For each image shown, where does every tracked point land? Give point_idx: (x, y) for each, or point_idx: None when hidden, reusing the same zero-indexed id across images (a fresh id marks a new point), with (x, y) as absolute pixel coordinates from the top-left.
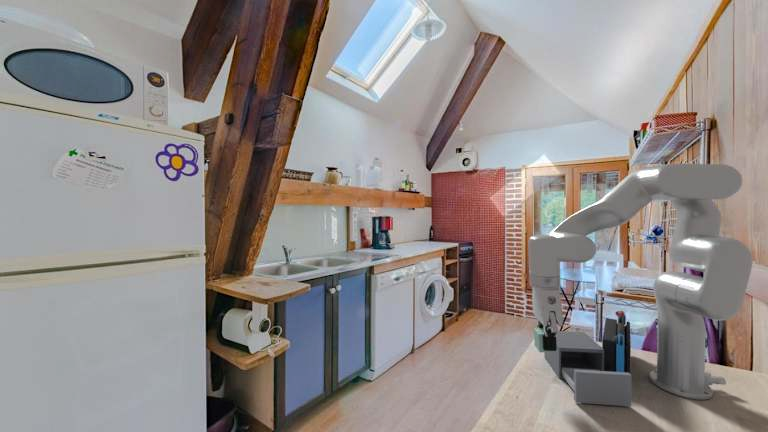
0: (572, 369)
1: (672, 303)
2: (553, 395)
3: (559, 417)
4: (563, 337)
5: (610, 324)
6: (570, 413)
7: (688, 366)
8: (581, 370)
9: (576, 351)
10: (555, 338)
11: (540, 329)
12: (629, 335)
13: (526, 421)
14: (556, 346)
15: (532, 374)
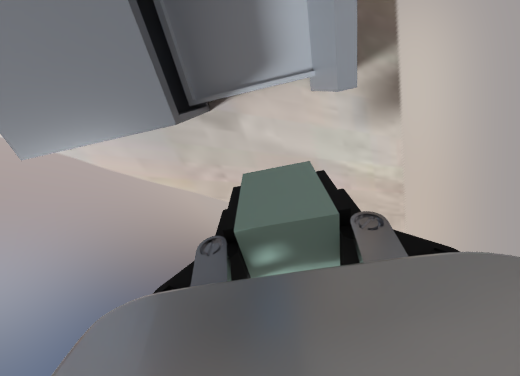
0: (182, 68)
1: None
2: (296, 135)
3: (376, 135)
4: (41, 83)
5: None
6: (359, 108)
7: None
8: (341, 60)
9: (150, 41)
10: (345, 203)
11: (270, 274)
12: None
13: (393, 194)
14: (328, 177)
15: (218, 171)
